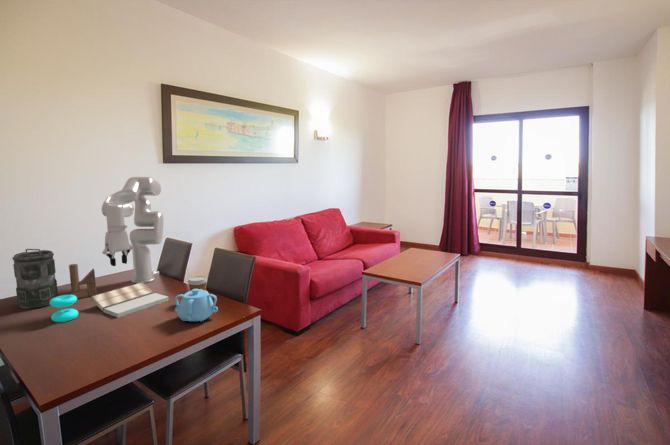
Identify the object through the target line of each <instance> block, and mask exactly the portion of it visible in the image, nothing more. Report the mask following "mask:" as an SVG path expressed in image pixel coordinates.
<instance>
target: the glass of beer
mask: <svg viewBox="0 0 670 445" xmlns="http://www.w3.org/2000/svg"><path fill="white" fill-rule="evenodd" d="M187 283H188V287H189V291H192V290H193V289H203V290H206V291H207V289H206V288H207V283H208V278H207V276H204V275H195V276H191V277H189V278H188V280H187Z"/></svg>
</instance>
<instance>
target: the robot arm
mask: <svg viewBox="0 0 670 445" xmlns="http://www.w3.org/2000/svg"><path fill="white" fill-rule="evenodd" d="M161 192H162V187H161V184H160V183H159V181H157V180H156V179H155V178H153V177H150V176H132V177H129V178H127V181H126V182H125V183H124V186H123V187H122V189H121V190H119V191H115V193H114V192H113V193H112V194H110V195H109V196H107V197H106V199H105V200H104V201H103V203H102V205H101V213H102V215H103V217H106V226H107V228H106V229H107V232H105V235H104V249H103V250H102V253H101V254H102V255H104V256H106V257H108V258H109V262H110V265H111V266H112V267H116V266H117V263H116V262H117V261H116V260H117V259H116V258H115V255H116V253H118V252H119V253H120V252H121V254H122V255H121V263H122V264H127V263H128V255H129V253H130V251H131V252H132V266H133V278H131V283H132V284H139V283H142V282H143V283H144V284H147V283H150V282H153V281H155V280H156V277H155V276H156V275H160V271H159V270H157V271H153V269H152V257H151V256H152V255H151V254H152V253H151V250H150V247H148V246H149V245H150V246H151V245H152V246H153V245H160V244H161V243H162V241H163V238H164V237H163V235H164V234H163V233H164V215H163V213H162V212H161V211H157V210H155V211H153V210H151V209H152V203H151V202H150V200H149V199H148V198H147V197H146V196H151V197H154V196H156V197H157V196H159V195H160V194H161ZM132 202H134V205H133V204H132ZM133 214H134V216H133V224H134V225H135V227H138V228H135V229H132V230H130V232H129V235H128V232H127V230H126V229H127V228H128V225H125V218H128V217H131V216H132V215H133Z"/></svg>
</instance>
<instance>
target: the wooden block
mask: <svg viewBox="0 0 670 445" xmlns="http://www.w3.org/2000/svg"><path fill="white" fill-rule="evenodd" d="M78 266H79V265H78V264H77V263H72V264H68V269H69V278H70V280H69V281H70V287H71V290H70V291H71V292H70V295H75V296H76V297H77V300H78V299H83V298H88V297H92V296H95V295H98V294H97V284H96V274H95V271H96V270H95V269H94V268H92V269H91V270H89V272H87V274H86V275H85V276H84V278H82V279H81V281H80V277H79V268H78ZM82 285H86V288H87V289H81V288H80V287H81V286H82Z"/></svg>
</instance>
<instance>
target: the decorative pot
mask: <svg viewBox="0 0 670 445" xmlns="http://www.w3.org/2000/svg"><path fill="white" fill-rule="evenodd" d="M178 298H181V300H180V302H179V299H178ZM217 298H218V297H217V295H215V294H213V293H209V292H208V290H207V289H206V290H203V289H193V290H192V291H190V290H189V291H187V292H185V293H184V294H183V293H181V294H177V295H176V296H175V297H174V302H175V308H174V312H175V313H177V316H178V317H179V319H180V320H181V321H183V322H184V321H189V322H199V321H200V323H201V322H202V321H203V322H205V321H206V320H207V319H208V318H210V317H211V316H212V314H213V313H217V312H218V311H219V308H218V306H216V304H217V301H218V299H217ZM213 299H214V301H213ZM204 320H205V321H204Z"/></svg>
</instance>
